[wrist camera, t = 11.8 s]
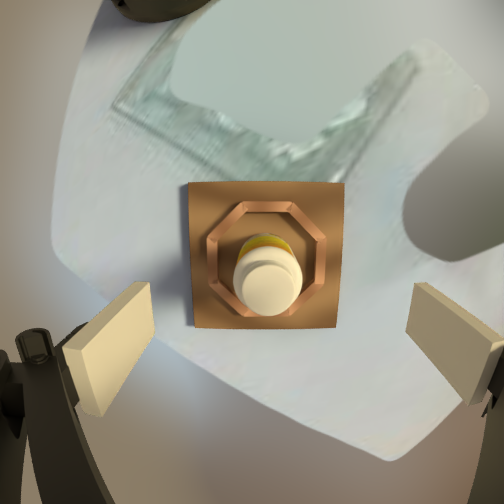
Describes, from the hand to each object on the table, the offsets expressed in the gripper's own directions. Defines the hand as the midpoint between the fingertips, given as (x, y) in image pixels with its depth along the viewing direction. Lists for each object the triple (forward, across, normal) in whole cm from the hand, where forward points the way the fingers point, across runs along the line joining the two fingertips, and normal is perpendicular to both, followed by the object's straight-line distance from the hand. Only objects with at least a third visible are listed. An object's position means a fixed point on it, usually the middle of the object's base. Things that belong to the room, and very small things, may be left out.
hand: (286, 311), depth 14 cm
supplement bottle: (+18, -1, -2) cm, 18 cm away
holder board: (+19, 0, -2) cm, 19 cm away
